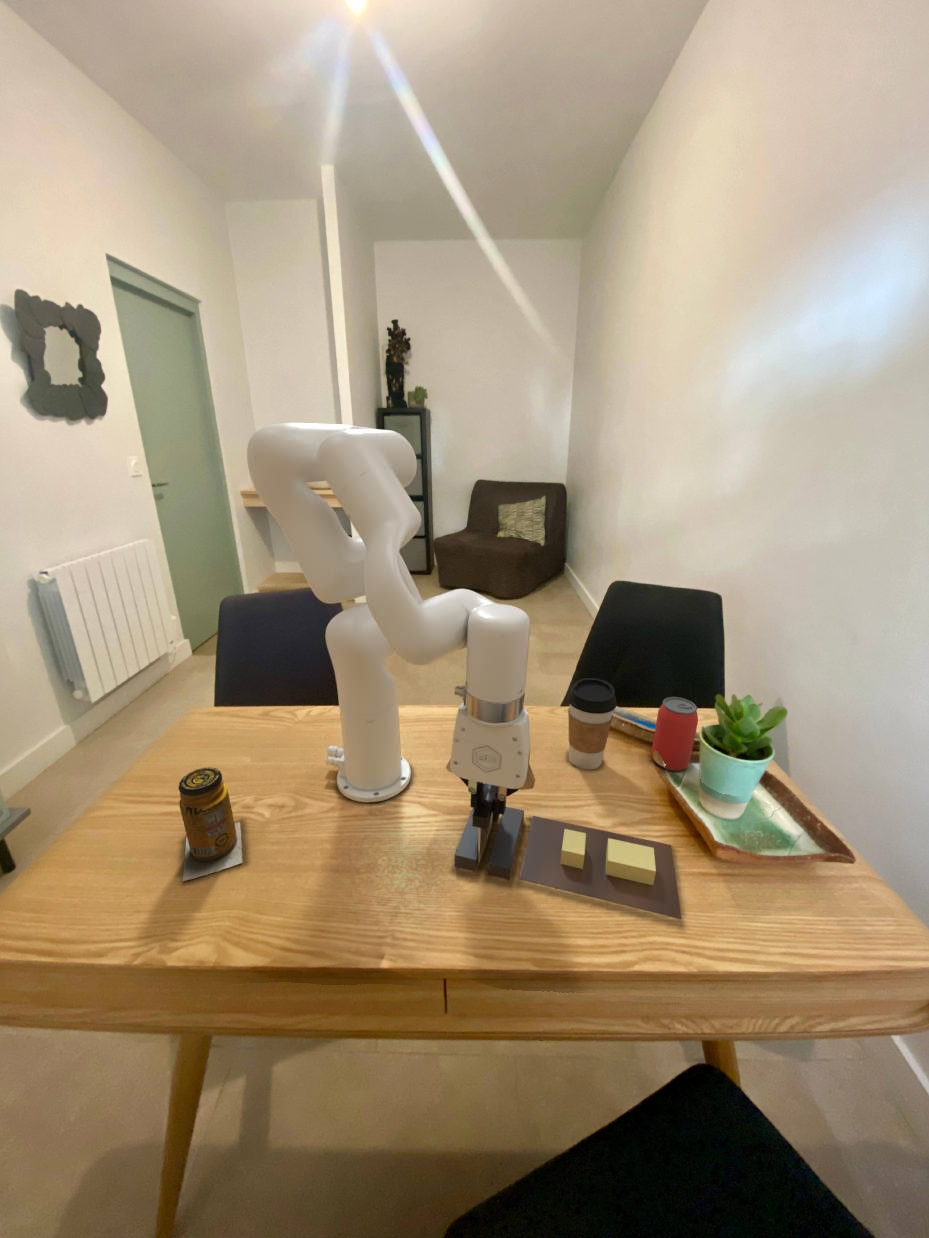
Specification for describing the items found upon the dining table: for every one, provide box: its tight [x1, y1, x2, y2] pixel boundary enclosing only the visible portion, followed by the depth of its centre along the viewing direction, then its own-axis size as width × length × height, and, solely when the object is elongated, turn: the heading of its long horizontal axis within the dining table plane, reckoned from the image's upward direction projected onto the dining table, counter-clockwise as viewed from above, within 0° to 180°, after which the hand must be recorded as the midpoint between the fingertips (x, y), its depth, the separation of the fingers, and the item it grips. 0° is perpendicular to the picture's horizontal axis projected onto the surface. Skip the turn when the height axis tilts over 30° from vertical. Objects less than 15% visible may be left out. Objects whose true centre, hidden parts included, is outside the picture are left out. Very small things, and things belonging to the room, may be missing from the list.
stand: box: [454, 806, 525, 881], centre depth 69 cm, size 8×11×3 cm
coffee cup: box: [567, 677, 617, 771], centre depth 87 cm, size 8×8×15 cm
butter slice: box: [560, 829, 586, 869], centre depth 67 cm, size 3×4×2 cm
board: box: [519, 815, 682, 920], centre depth 67 cm, size 20×12×1 cm, turn 74°
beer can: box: [650, 696, 699, 772], centre depth 87 cm, size 7×7×12 cm
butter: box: [606, 838, 656, 885], centre depth 65 cm, size 6×4×2 cm, turn 74°
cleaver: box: [472, 783, 498, 863], centre depth 68 cm, size 2×10×8 cm, turn 164°
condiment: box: [178, 767, 244, 882], centre depth 67 cm, size 7×8×12 cm
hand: (487, 812), depth 68 cm, fingers closed on cleaver, 2 cm apart
